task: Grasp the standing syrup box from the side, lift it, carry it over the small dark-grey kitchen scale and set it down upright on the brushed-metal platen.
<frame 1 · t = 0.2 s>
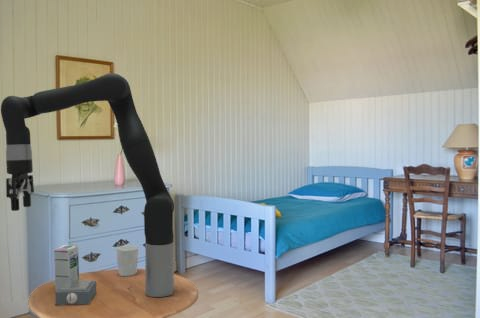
hand: (21, 208, 143), 29 cm above the table, tool pointing down, fingers open, 8 cm apart
white cup: (127, 274, 168), on the table
platen: (76, 285, 142), point 4 cm above the table, slide at -0.4 cm
scale: (76, 298, 142), on the table
syrup box: (67, 288, 151), on the table
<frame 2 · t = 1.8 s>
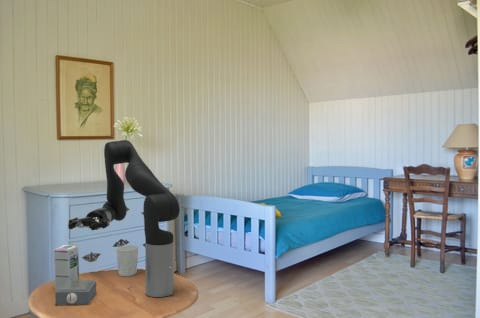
hand: (80, 227, 161), 19 cm above the table, tool horizontal, fingers open, 8 cm apart
nothing on the table moved.
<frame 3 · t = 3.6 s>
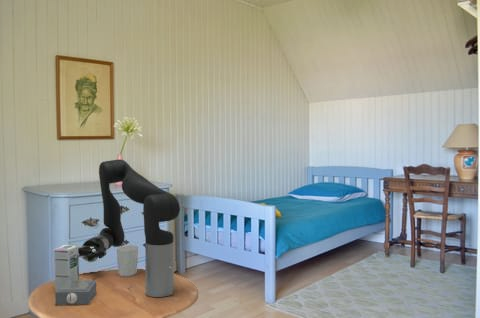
hand: (77, 257, 158), 8 cm above the table, tool horizontal, fingers open, 8 cm apart
nothing on the table moved.
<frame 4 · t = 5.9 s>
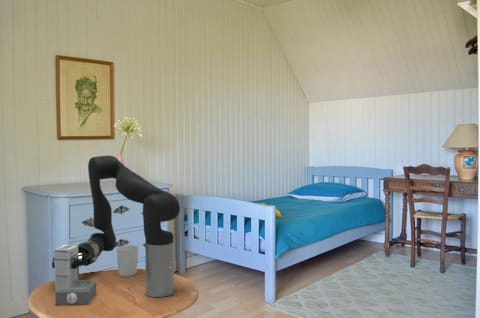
hand: (63, 265, 148), 9 cm above the table, tool horizontal, fingers closed on syrup box, 6 cm apart
syrup box: (67, 288, 151), on the table, touching gripper
everything else where it was.
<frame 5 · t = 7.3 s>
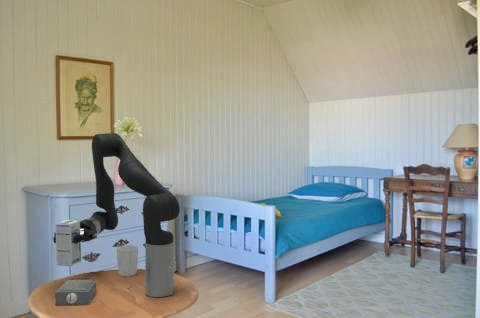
hand: (64, 240, 146), 18 cm above the table, tool horizontal, fingers closed on syrup box, 6 cm apart
syrup box: (68, 264, 149), point 9 cm above the table, touching gripper
everything else where it was.
when the fingers open (15 cm above the table, at t = 9.0 s): syrup box drops 1 cm, resting on platen.
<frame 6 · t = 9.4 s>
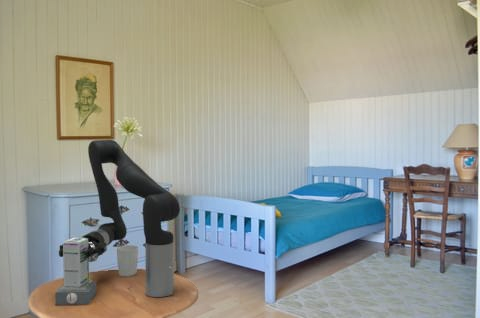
hand: (73, 254, 139), 15 cm above the table, tool horizontal, fingers open, 8 cm apart
platen: (76, 285, 142), point 4 cm above the table, slide at -0.5 cm, touching syrup box
syrup box: (76, 284, 142), point 5 cm above the table, touching platen
everything else where it was.
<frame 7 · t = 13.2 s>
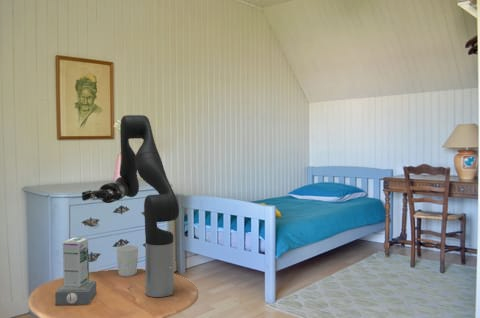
hand: (95, 198, 158), 30 cm above the table, tool horizontal, fingers open, 8 cm apart
nothing on the table moved.
at the end: syrup box inside the target area on the scale (0.1 cm from its centre), point 4.6 cm above the scale's base; syrup box tilted 0° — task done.
